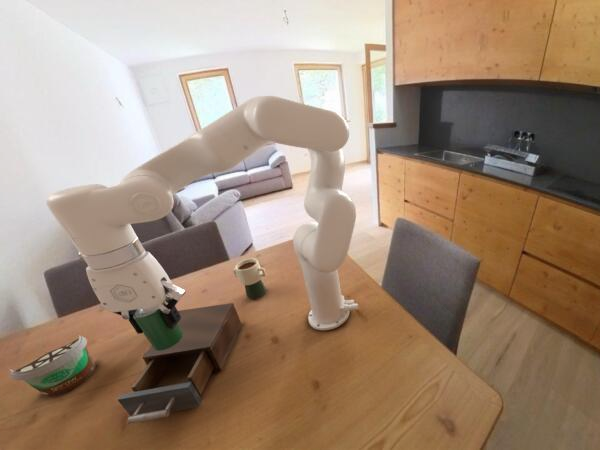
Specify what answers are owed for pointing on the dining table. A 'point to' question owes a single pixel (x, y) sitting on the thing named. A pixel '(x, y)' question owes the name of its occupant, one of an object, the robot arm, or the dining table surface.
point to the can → (157, 328)
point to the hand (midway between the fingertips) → (160, 325)
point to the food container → (58, 369)
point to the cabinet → (204, 333)
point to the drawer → (168, 386)
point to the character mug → (251, 277)
